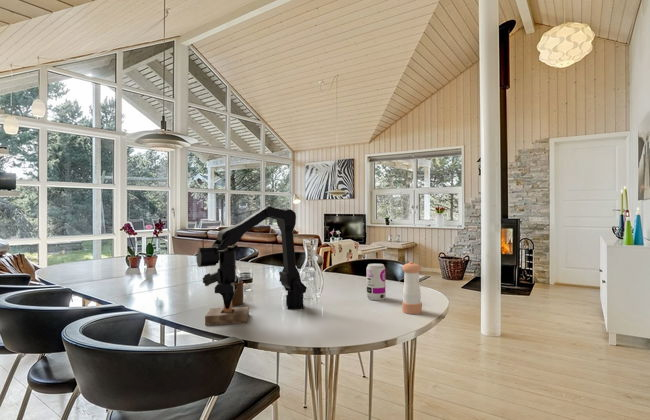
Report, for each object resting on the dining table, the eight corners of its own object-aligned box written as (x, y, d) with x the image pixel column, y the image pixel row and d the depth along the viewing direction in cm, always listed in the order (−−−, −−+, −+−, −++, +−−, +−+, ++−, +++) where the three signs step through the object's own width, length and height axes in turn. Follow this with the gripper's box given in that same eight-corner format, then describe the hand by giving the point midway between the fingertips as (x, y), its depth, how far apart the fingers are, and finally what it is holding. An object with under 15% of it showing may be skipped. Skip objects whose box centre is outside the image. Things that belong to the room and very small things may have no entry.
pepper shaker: (425, 311, 137) (425, 261, 137) (414, 315, 132) (414, 263, 132) (409, 307, 142) (408, 259, 142) (398, 311, 137) (398, 261, 137)
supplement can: (388, 297, 159) (388, 264, 159) (380, 301, 152) (380, 266, 152) (371, 295, 163) (371, 262, 163) (363, 299, 156) (363, 265, 156)
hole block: (248, 314, 135) (248, 306, 135) (246, 322, 125) (246, 314, 125) (210, 316, 133) (210, 308, 133) (205, 324, 123) (205, 316, 123)
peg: (232, 314, 131) (232, 287, 131) (231, 316, 128) (231, 288, 128) (224, 314, 130) (224, 287, 130) (223, 317, 127) (222, 289, 127)
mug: (235, 309, 142) (235, 285, 142) (217, 309, 143) (217, 285, 143) (245, 301, 154) (245, 280, 154) (229, 301, 155) (228, 279, 155)
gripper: (209, 261, 137) (209, 302, 137) (198, 269, 119) (199, 316, 119) (239, 260, 139) (239, 300, 139) (232, 268, 120) (233, 314, 120)
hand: (227, 307), depth 129 cm, fingers closed on peg, 3 cm apart
